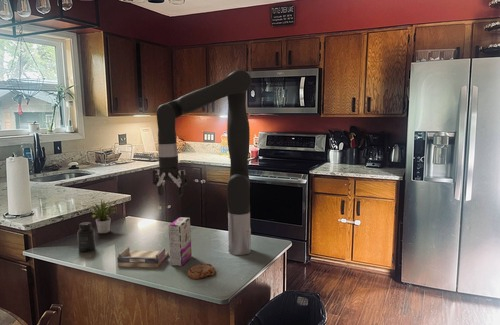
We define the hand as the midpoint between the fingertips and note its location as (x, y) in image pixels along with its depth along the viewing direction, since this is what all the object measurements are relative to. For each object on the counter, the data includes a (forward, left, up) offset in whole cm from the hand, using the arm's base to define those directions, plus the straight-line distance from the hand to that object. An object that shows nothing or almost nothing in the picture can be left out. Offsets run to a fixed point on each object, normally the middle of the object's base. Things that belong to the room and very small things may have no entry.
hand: (170, 195), depth 152 cm
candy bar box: (-4, +2, -26) cm, 27 cm away
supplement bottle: (+40, -6, -26) cm, 48 cm away
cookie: (-15, +14, -27) cm, 34 cm away
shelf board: (+11, +3, -26) cm, 28 cm away
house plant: (+45, -30, -26) cm, 60 cm away
